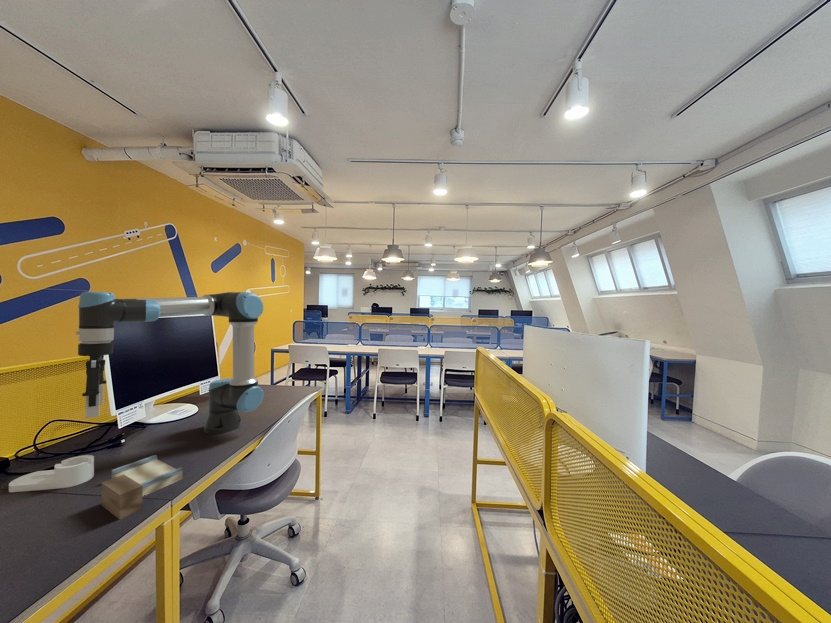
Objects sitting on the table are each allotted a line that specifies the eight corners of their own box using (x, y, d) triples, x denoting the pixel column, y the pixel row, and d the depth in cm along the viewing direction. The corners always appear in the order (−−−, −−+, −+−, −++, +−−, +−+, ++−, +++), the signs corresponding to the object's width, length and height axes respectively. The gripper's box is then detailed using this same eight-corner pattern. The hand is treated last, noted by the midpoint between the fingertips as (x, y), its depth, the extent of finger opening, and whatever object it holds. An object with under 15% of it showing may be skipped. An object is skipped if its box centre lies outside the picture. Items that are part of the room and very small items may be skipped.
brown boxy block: (123, 496, 94) (123, 474, 94) (142, 509, 89) (142, 485, 89) (101, 506, 90) (101, 482, 90) (119, 520, 84) (119, 495, 84)
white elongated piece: (100, 473, 107) (101, 454, 107) (79, 487, 98) (79, 467, 98) (29, 478, 103) (29, 458, 102) (0, 494, 94) (0, 472, 94)
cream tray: (155, 465, 112) (155, 454, 112) (182, 479, 104) (182, 468, 104) (111, 481, 102) (111, 469, 102) (137, 498, 93) (137, 486, 93)
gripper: (83, 338, 101) (82, 402, 101) (71, 347, 83) (69, 425, 83) (115, 337, 106) (114, 399, 106) (110, 345, 88) (109, 419, 88)
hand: (94, 410), depth 95 cm, fingers open, 13 cm apart
